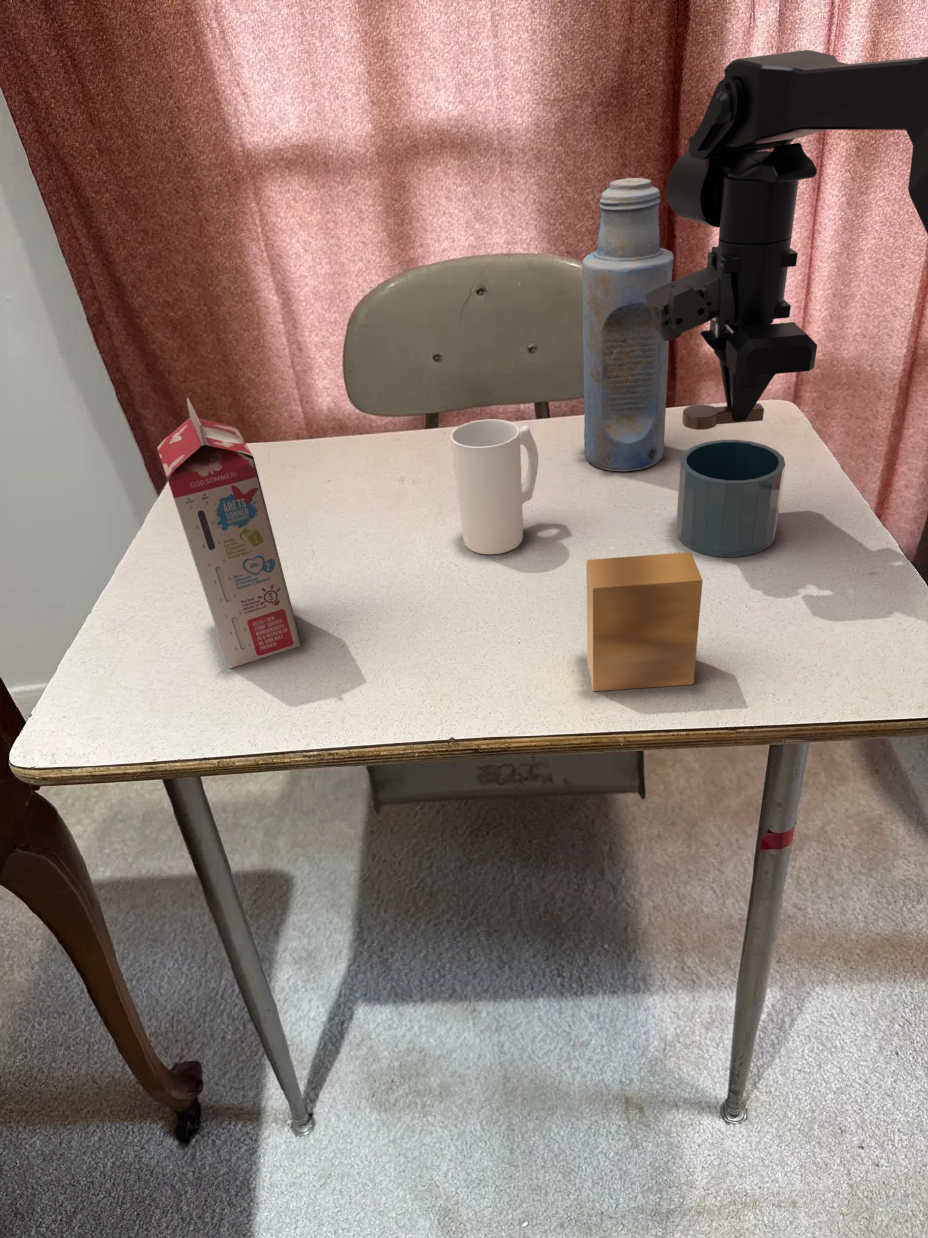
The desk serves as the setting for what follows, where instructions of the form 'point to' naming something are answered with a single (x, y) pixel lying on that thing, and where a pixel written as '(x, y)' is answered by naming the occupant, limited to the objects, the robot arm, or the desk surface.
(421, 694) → the desk surface
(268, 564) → the juice carton
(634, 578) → the wooden block
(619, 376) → the bottle
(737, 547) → the crock
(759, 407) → the brown disc handle
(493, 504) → the mug
